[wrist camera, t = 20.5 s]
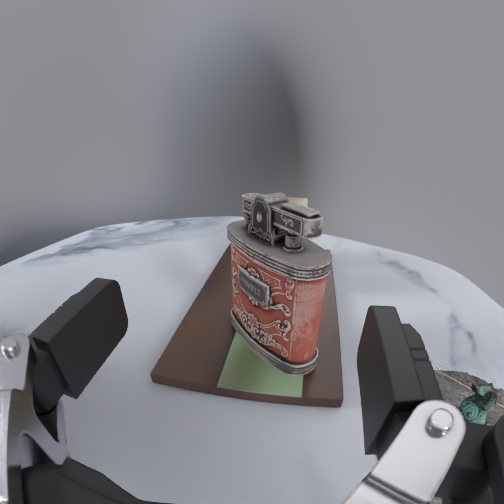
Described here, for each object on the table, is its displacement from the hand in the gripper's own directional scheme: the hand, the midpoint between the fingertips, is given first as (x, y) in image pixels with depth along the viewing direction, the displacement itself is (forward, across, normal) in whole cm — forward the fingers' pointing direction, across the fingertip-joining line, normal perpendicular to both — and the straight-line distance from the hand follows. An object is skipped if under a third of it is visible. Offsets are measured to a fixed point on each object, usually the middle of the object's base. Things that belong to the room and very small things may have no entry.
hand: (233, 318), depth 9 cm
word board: (+15, +1, +10) cm, 18 cm away
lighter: (+9, 0, +9) cm, 13 cm away
